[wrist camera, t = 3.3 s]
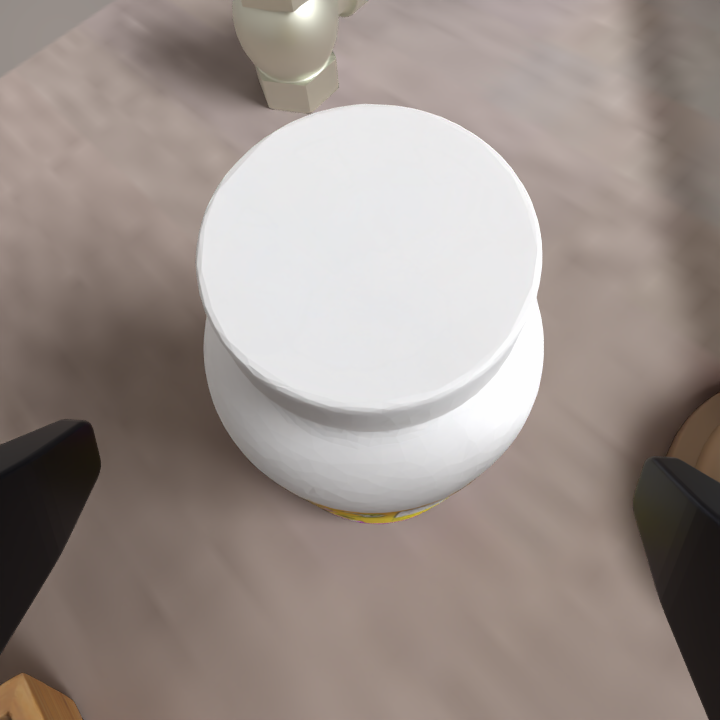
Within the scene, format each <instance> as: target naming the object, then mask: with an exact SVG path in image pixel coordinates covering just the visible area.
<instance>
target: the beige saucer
mask: <svg viewBox="0 0 720 720" xmlns="http://www.w3.org/2000/svg"><path fill="white" fill-rule="evenodd" d="M667 457H675V458H678V459H681V460H682V461H684V462H686V463H687V464H689V465H691V466H692V467H694V468H696V469H697V470H699V471H701V472H702V473H704V474H706V475H708V476H709V477H711V478H713V479H714V480H716V481H718V482H719V483H720V392H719V393H718V394H716V395H714V396H712V397H711V398H709V399H708V400H707V401H706V402H704V403H703V404H702V405H701V406H699V407H698V408H697V409H696V410H695V411H694V412H693V413H692V414H691V415H690V417H689V418H688V419H687V420H686V421H685V422H684V424H683V425H682V427H681V428H680V430H679V431H678V433H677V434H676V436H675V438H674V440H673V442H672V444H671V447H670V449H669V451H668V453H667Z"/></svg>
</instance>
